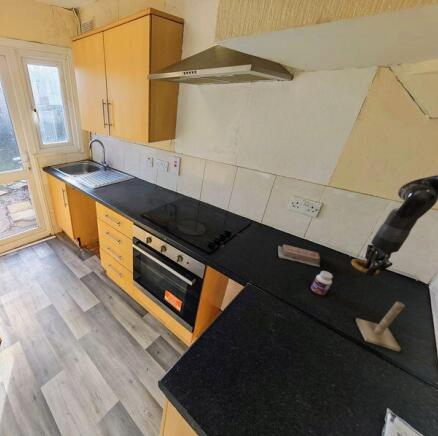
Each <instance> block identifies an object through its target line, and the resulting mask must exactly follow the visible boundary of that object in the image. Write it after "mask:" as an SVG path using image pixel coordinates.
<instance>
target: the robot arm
mask: <svg viewBox="0 0 438 436" xmlns="http://www.w3.org/2000/svg"><path fill="white" fill-rule="evenodd" d="M397 196H398V197H399V198H400V199H401V200H402V201H403V202H402V204H401V205H400V206H399V207H395V208H393V209H391V211H390V212H389V213H388V215H387V216H386V218H385V219H384V221H383V223H382V224H381V225H380V226H379V228H378V230H377V231H376V233H375V235H374V236H373V239H372V240H371V243H370V244H367V248H366V252H365V257H364V258H365V259H364V260H366V262H367V263H366V265H364V266H363V268H366V269H368V270H367V272H366V273H365V275H366V276H368V277H373V276H375V275H376V274H375V272H376V271H377V270H380V271H381V272H383V271H385V270H387V269H388V268H390V267H391V266H393V262H391V261H390V258H391V256H392V254H393V253H398V252H399V251H400V250H401V248H402V247H403V245H404V243H405V242H406V241H407V239H408V237H409V236H410V233H411V231H412V230H413V228H414V227H415V225H416V224H417V222H418V220H419V219H420V218H422V217H423V216H424V215H425V214H426V213H428V212H429V211H430V210H431V209H433V207H434V206H435V205H436V203H437V202H438V174H436V175H432V176H431V175H430V176H427V177H422V178H418V179H414V180H411V181H409V182H406V183H404V184H403V185H401V186H400V187H399V189H398V190H397ZM380 271H379V272H380Z"/></svg>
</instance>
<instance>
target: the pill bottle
mask: <svg viewBox="0 0 438 436" xmlns="http://www.w3.org/2000/svg"><path fill="white" fill-rule="evenodd" d="M333 278H334V277H333V274H332V273H330V272H329V271H326V270H321V271H320V273H319V274H317V275H315V278H314V280H313V282H312V284H311V285H310V290H312V292H314V293H315V294H318V295H320V296H325V295H326V294H327V293H328V291H329V289H330V287H331V285H332V283H333V280H332V279H333Z"/></svg>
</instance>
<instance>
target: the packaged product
mask: <svg viewBox="0 0 438 436" xmlns="http://www.w3.org/2000/svg"><path fill="white" fill-rule="evenodd" d="M277 253H278V258H280V259H285V260H289V261H292V262H298V263H303V264H305V265H308V266H309V265H310V266H312V267H313V266H314V267H318V268H320V267H321V266H320V263H321V257H320V254H319V252H317V251H313V250H309V249H304V248H301V247H296V246H292V245H290V244H289V245H288V244H282V246H280V245H278V247H277Z"/></svg>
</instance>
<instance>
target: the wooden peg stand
mask: <svg viewBox="0 0 438 436" xmlns="http://www.w3.org/2000/svg"><path fill="white" fill-rule="evenodd" d="M405 305H406V304H404V303H403V302H401V301H395V303H393V305H392V306H391V308H389V310H388V311H387V313H386V314H385V315H384V316H383V317H382V319H381V320H380V322H379V323H375V322H371V321H368V320H365V319H361V318H358V317H356V318H355V320H354V321H355V323H356V325H357V328H358V329H359V332H360V334H361V335H362V337H363V340H364V341H365V342H367V343H370V344H374V345H377V346H380V347H383V348H387V349H390V350H392V351H396V352H400V351H401V350H402V348H401V346H400V345H399V344H398V341H396V339H395V337H394V335H393V333H392V332H391V330H390V329H389V326H390V325H391V324H392V322H393V321H394V320H395V319H396V318H397V316H398V315H399V314H400V313H401V311H402V310H403V309H404V308H405V307H406V306H405Z"/></svg>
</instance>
